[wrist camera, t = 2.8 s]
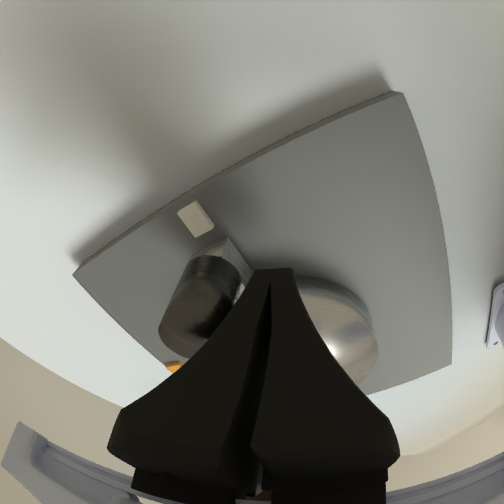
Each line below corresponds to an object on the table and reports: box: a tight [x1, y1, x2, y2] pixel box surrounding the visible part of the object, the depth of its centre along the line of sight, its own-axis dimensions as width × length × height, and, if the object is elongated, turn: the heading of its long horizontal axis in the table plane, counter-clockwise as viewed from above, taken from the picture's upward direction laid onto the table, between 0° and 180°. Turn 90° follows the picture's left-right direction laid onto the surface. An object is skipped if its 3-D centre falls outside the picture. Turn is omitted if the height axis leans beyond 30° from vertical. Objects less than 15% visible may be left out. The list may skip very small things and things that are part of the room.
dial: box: [158, 237, 378, 385], centre depth 13 cm, size 13×10×5 cm
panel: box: [72, 91, 452, 395], centre depth 17 cm, size 20×20×2 cm
